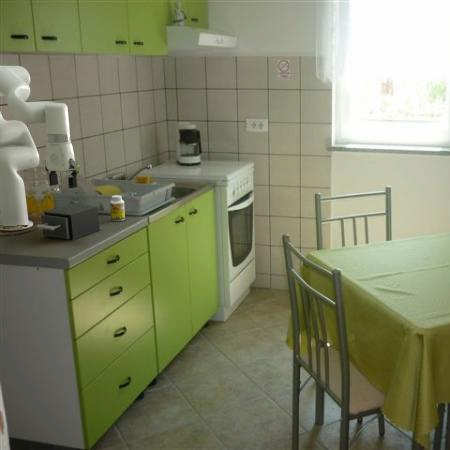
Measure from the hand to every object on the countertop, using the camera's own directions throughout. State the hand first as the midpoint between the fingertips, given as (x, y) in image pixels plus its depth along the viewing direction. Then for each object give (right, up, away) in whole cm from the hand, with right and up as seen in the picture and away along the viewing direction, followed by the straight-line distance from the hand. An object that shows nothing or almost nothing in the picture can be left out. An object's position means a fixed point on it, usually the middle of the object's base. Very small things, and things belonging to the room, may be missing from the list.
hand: (63, 186), depth 210 cm
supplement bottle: (+9, -12, +34) cm, 38 cm away
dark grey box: (-2, -17, +15) cm, 23 cm away
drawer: (-4, -17, +10) cm, 20 cm away
